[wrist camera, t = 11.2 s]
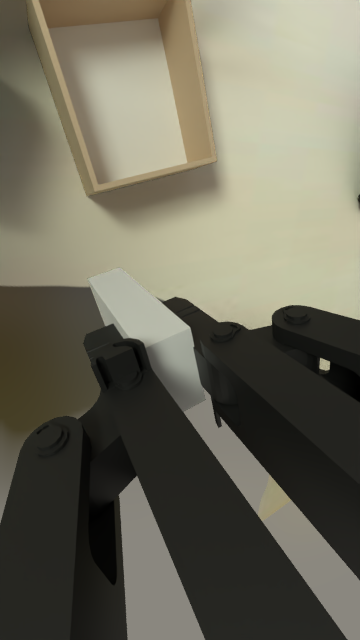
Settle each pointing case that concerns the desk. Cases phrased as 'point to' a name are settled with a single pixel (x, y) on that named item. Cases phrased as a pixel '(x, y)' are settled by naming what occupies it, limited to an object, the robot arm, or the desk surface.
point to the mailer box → (125, 87)
